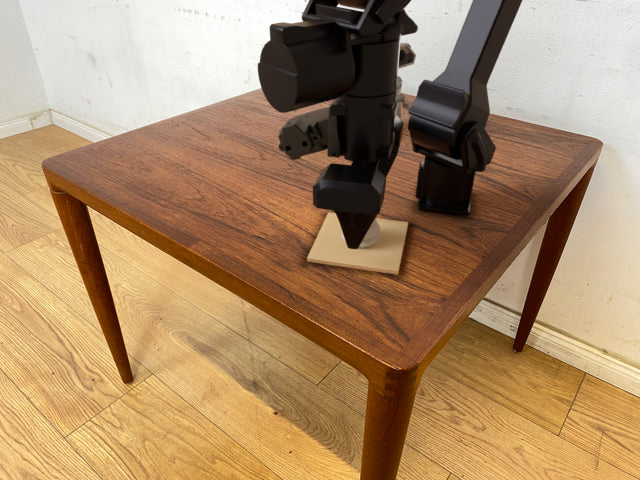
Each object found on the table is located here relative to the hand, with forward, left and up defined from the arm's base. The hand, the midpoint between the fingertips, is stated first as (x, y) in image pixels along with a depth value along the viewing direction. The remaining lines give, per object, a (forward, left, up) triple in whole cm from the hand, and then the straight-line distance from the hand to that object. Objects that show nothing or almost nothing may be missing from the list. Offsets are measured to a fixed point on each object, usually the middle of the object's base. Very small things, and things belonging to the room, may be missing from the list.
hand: (360, 226), depth 55 cm
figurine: (+3, -34, -2) cm, 34 cm away
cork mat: (0, 0, -2) cm, 2 cm away
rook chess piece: (0, 0, -2) cm, 2 cm away
